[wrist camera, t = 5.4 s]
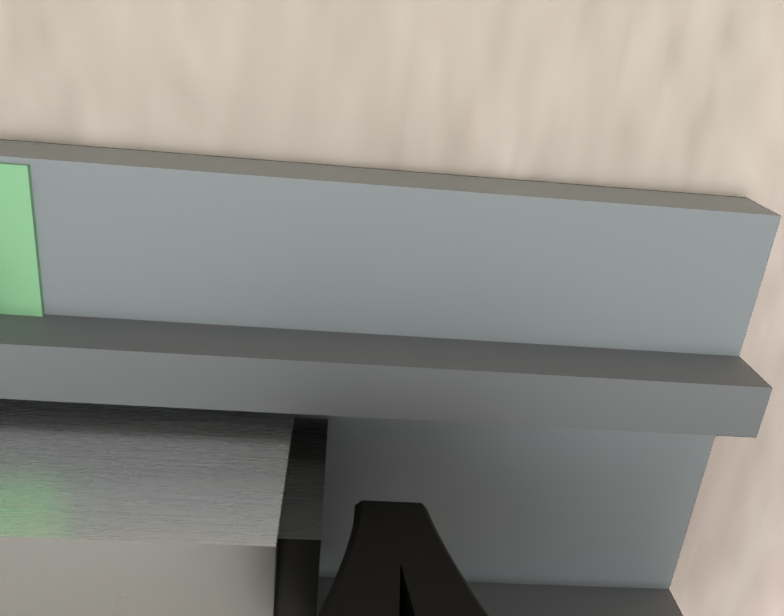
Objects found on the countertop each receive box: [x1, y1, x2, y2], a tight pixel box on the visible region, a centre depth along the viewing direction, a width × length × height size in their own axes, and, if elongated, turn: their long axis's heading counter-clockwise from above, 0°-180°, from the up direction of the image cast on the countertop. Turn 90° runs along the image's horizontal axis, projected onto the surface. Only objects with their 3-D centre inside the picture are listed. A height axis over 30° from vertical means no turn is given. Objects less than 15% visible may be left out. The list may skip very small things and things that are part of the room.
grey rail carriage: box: [0, 399, 328, 616], centre depth 12 cm, size 4×6×4 cm
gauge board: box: [0, 140, 781, 616], centre depth 13 cm, size 12×18×5 cm, turn 85°
